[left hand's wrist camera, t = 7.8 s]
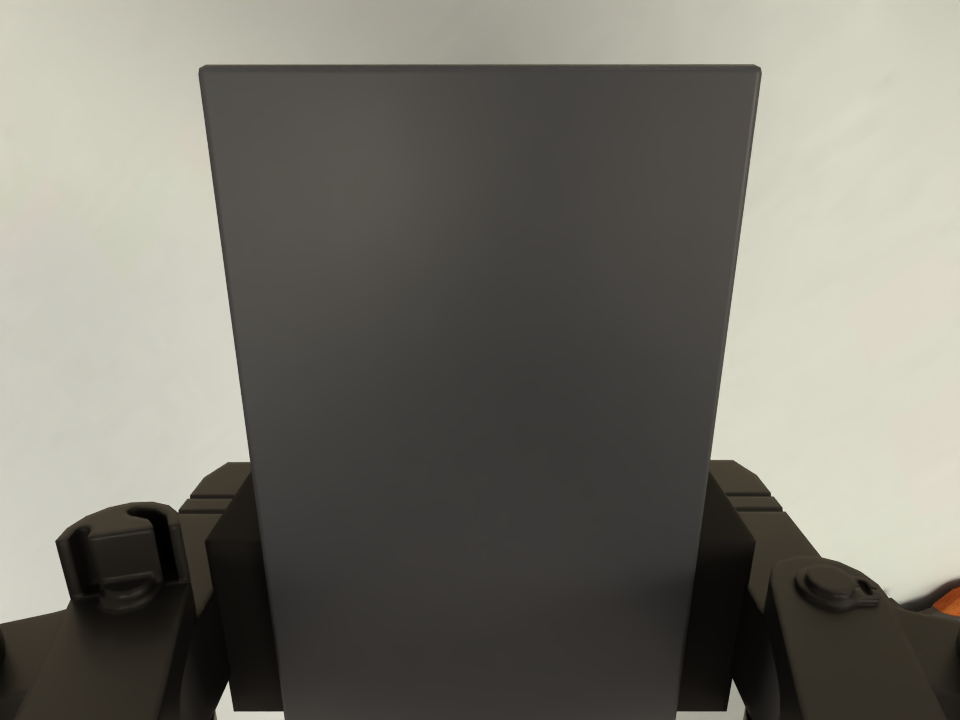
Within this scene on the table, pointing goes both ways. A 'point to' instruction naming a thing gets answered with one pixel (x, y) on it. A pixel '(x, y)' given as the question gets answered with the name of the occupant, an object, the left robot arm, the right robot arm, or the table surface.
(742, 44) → the table surface
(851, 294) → the table surface
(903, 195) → the table surface
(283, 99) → the bar
